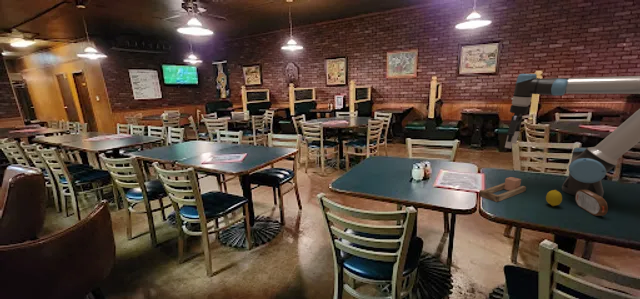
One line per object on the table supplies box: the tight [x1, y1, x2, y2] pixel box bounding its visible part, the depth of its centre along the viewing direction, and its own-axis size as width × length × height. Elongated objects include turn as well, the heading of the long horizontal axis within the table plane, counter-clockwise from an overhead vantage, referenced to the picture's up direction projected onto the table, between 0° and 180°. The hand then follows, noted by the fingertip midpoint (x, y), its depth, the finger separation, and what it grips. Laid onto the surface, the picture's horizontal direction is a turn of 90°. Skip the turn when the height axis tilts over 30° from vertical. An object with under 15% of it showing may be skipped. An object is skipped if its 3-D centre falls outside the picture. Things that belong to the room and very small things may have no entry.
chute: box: [478, 182, 527, 203], centre depth 138 cm, size 9×25×3 cm, turn 117°
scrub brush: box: [574, 190, 609, 217], centre depth 116 cm, size 15×3×8 cm, turn 168°
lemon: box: [545, 189, 563, 207], centre depth 122 cm, size 6×6×8 cm
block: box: [503, 176, 522, 191], centre depth 142 cm, size 5×5×6 cm
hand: (510, 145), depth 142 cm, fingers open, 13 cm apart
